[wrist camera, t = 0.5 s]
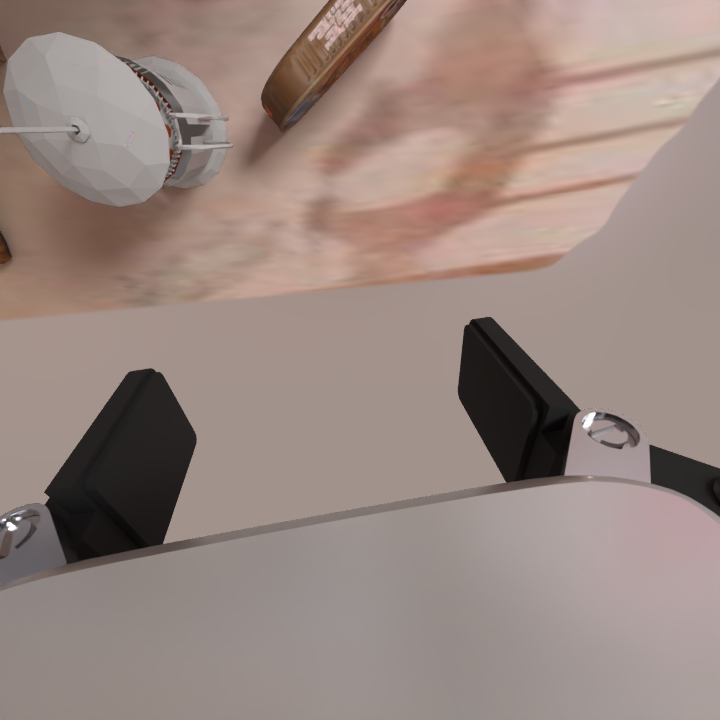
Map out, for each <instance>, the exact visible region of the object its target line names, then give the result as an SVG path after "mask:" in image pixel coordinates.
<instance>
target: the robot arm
mask: <svg viewBox="0 0 720 720" xmlns="http://www.w3.org/2000/svg"><path fill="white" fill-rule="evenodd" d="M459 375H460V376H459V385H458V395H459V399H460V401H461V403H462V404H463V406H464V408H465V410H466V411H467V413H468V415H469V417H470V419H471V421H472V422H473V424H474V426H475V428H476V429H477V431H478V433H479V435H480V436H481V438H482V440H483V442H484V444H485V445H486V447H487V449H488V451H489V452H490V454H491V456H492V458H493V459H494V461H495V463H496V465H497V467H498V468H499V470H500V472H501V474H502V475H503V477H504V479H505V481H506V482H507V483H502V484H496V485H490V486H484V487H477V488H471V489H465V490H459V491H454V492H449V493H442V494H437V495H431V496H425V497H420V498H414V499H408V500H403V501H397V502H391V503H386V504H380V505H374V506H368V507H363V508H357V509H352V510H346V511H341V512H335V513H330V514H324V515H318V516H313V517H308V518H302V519H297V520H291V521H286V522H280V523H275V524H269V525H264V526H258V527H253V528H247V529H242V530H237V531H231V532H226V533H220V534H215V535H210V536H205V537H199V538H194V539H188V540H184V541H178V542H172V543H167V544H163V541H164V538H165V535H166V532H167V529H168V527H169V523H170V521H171V518H172V514H173V511H174V508H175V506H176V502H177V500H178V497H179V494H180V491H181V488H182V485H183V482H184V479H185V476H186V473H187V470H188V467H189V464H190V461H191V458H192V455H193V452H194V449H195V445H196V440H197V439H196V434H195V432H194V430H193V428H192V426H191V424H190V423H189V421H188V419H187V417H186V415H185V414H184V412H183V410H182V408H181V406H180V405H179V403H178V401H177V399H176V397H175V396H174V394H173V392H172V390H171V389H170V387H169V385H168V383H167V382H166V380H165V378H164V376H163V375H162V374H161V373H160V372H156V371H155V370H154V369H151V368H150V369H143V370H136V371H131V372H129V373H128V374H127V375H126V376H125V378H124V379H123V381H122V382H121V383H120V385H119V386H118V388H117V389H116V391H115V392H114V393H113V395H112V396H111V398H110V399H109V401H108V402H107V403H106V405H105V406H104V408H103V409H102V411H101V412H100V413H99V415H98V416H97V418H96V419H95V421H94V422H93V423H92V425H91V426H90V428H89V429H88V431H87V432H86V433H85V435H84V436H83V438H82V439H81V441H80V442H79V443H78V445H77V446H76V448H75V449H74V450H73V452H72V453H71V455H70V456H69V458H68V459H67V460H66V462H65V463H64V465H63V466H62V467H61V469H60V470H59V472H58V473H57V475H56V476H55V477H54V479H53V480H52V482H51V483H50V485H49V486H48V487H47V489H46V490H45V492H44V493H46V494H47V495H48V496H49V497H50V498H49V499H48V501H47V502H46V504H45V505H43V504H39V503H34V504H27V505H24V506H21V507H18V508H15V509H13V510H11V511H9V512H7V513H5V514H3V515H2V516H1V517H0V720H720V469H719V468H717V467H714V466H711V465H708V464H705V463H702V462H699V461H696V460H693V459H690V458H687V457H684V456H682V455H679V454H676V453H673V452H670V451H667V450H664V449H661V448H658V447H655V446H652V445H649V439H648V436H647V434H646V432H645V431H644V429H643V428H642V427H641V426H640V425H639V424H637V423H636V422H635V421H634V420H632V419H631V418H629V417H627V416H625V415H624V414H621V413H619V412H616V411H613V410H609V409H603V408H589V409H584V410H582V411H581V410H580V409H579V408H578V407H577V406H576V405H575V404H574V403H573V401H572V400H571V399H570V398H569V397H568V396H567V395H566V394H565V393H564V392H563V391H562V390H561V389H560V388H559V387H558V386H557V385H556V384H555V383H554V382H553V381H552V380H551V379H550V378H549V377H548V376H547V374H546V373H545V372H543V370H542V369H541V368H540V367H539V366H538V365H537V364H536V363H535V362H534V361H533V360H532V359H531V358H530V357H529V356H528V355H527V354H526V353H525V352H524V351H523V350H522V348H521V347H519V345H517V343H516V342H515V341H514V340H513V339H512V338H511V337H510V336H509V335H508V334H507V333H506V332H505V331H504V330H503V329H502V328H501V327H500V326H499V325H498V324H497V323H496V322H495V320H494V319H493V318H491V317H485V318H478V319H472V320H471V321H470V323H469V325H466V326H465V328H464V336H463V345H462V355H461V365H460V374H459Z"/></svg>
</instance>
